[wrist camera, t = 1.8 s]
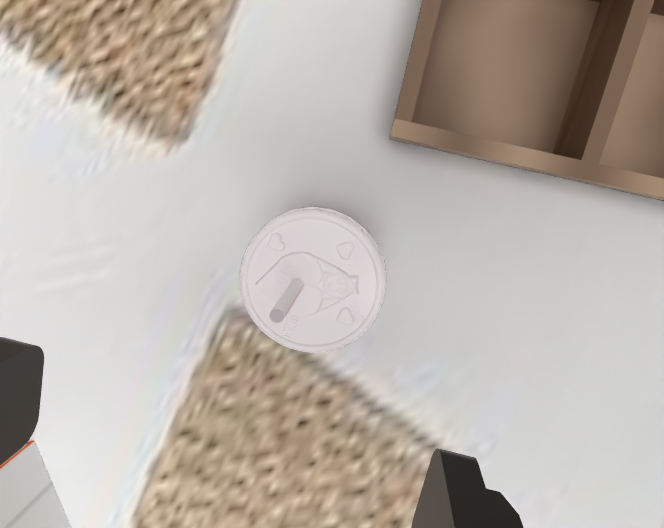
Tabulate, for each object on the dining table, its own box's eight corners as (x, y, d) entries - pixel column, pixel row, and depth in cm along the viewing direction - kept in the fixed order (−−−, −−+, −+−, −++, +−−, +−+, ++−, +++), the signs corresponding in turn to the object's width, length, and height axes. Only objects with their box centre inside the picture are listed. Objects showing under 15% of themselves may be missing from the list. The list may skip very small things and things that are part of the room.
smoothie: (280, 191, 31) (195, 223, 17) (386, 191, 30) (387, 222, 16) (283, 294, 32) (208, 398, 18) (386, 295, 31) (386, 405, 18)
